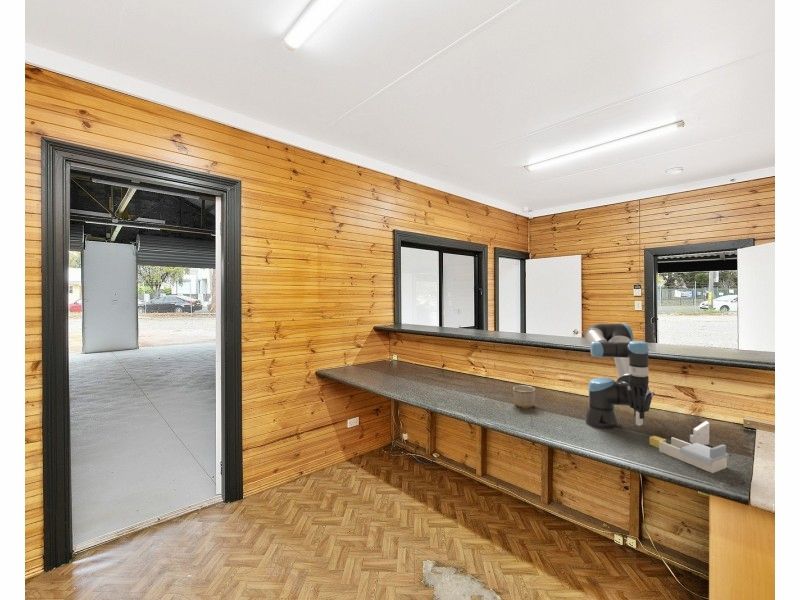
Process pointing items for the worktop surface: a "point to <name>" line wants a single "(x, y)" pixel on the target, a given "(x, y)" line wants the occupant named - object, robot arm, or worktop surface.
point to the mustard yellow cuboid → (656, 441)
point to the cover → (704, 452)
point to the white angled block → (701, 434)
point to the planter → (524, 396)
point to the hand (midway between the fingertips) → (639, 424)
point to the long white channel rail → (675, 452)
